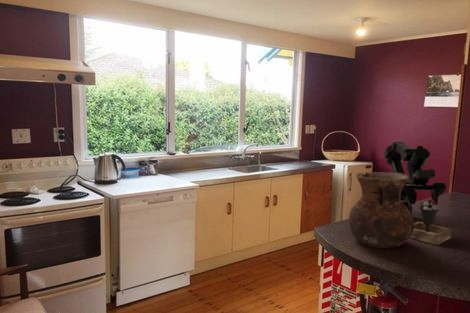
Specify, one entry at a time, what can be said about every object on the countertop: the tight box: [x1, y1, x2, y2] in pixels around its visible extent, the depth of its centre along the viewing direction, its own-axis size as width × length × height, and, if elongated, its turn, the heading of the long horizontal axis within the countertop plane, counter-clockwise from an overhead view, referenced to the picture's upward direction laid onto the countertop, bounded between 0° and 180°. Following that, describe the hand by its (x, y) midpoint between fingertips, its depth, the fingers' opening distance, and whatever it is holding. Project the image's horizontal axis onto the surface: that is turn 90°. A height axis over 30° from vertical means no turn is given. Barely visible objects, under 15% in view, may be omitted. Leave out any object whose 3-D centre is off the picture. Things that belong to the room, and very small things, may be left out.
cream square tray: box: [409, 221, 452, 246], centre depth 138 cm, size 12×12×4 cm
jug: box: [348, 171, 414, 249], centre depth 130 cm, size 22×21×25 cm
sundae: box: [418, 196, 440, 233], centre depth 137 cm, size 7×7×15 cm
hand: (423, 205), depth 143 cm, fingers open, 9 cm apart
